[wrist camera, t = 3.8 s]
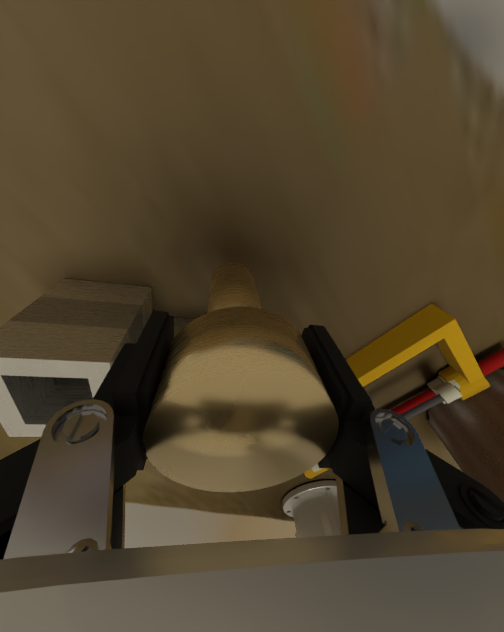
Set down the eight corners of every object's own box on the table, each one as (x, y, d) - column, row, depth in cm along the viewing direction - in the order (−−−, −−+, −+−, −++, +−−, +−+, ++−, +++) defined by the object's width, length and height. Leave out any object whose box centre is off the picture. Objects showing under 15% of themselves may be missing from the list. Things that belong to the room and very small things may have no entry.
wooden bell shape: (264, 320, 18) (308, 489, 8) (190, 313, 17) (147, 494, 7) (279, 249, 15) (369, 378, 6) (193, 237, 14) (135, 365, 5)
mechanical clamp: (560, 390, 24) (314, 506, 33) (500, 349, 30) (301, 458, 38) (533, 263, 16) (214, 462, 25) (456, 238, 21) (215, 409, 30)
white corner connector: (243, 415, 30) (250, 500, 23) (98, 413, 27) (51, 509, 20) (269, 298, 22) (294, 371, 14) (64, 278, 19) (-39, 355, 12)
